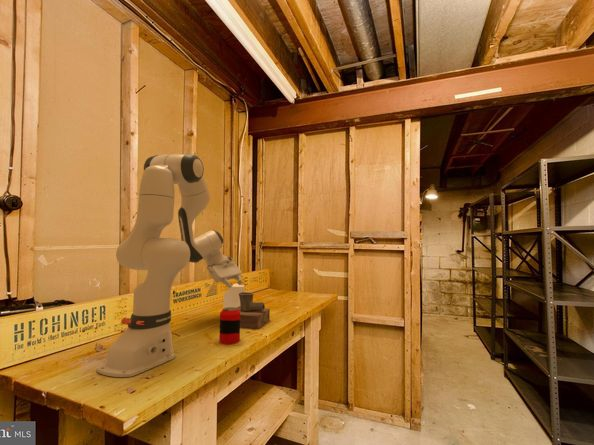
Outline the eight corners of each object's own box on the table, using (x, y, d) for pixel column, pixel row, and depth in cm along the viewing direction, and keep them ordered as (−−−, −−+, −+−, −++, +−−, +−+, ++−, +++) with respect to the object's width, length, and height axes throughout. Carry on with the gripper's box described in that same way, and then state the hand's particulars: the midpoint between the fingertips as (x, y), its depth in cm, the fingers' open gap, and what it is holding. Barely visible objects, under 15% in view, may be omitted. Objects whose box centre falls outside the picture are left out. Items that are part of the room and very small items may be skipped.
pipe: (261, 313, 129) (261, 295, 129) (235, 311, 132) (235, 293, 133) (266, 310, 134) (266, 293, 135) (241, 308, 138) (241, 291, 138)
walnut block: (257, 330, 124) (257, 316, 124) (224, 327, 128) (224, 313, 129) (269, 321, 137) (269, 308, 138) (238, 318, 142) (239, 306, 142)
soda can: (215, 342, 109) (215, 309, 109) (229, 336, 115) (229, 305, 116) (230, 346, 105) (230, 312, 106) (243, 339, 112) (244, 308, 112)
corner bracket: (242, 308, 160) (243, 286, 160) (222, 308, 159) (222, 286, 160) (245, 304, 170) (245, 283, 171) (225, 304, 170) (226, 283, 170)
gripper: (209, 260, 129) (228, 284, 125) (233, 257, 148) (250, 278, 145) (201, 270, 130) (219, 293, 126) (225, 266, 149) (242, 286, 146)
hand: (236, 285), depth 136 cm, fingers open, 8 cm apart
